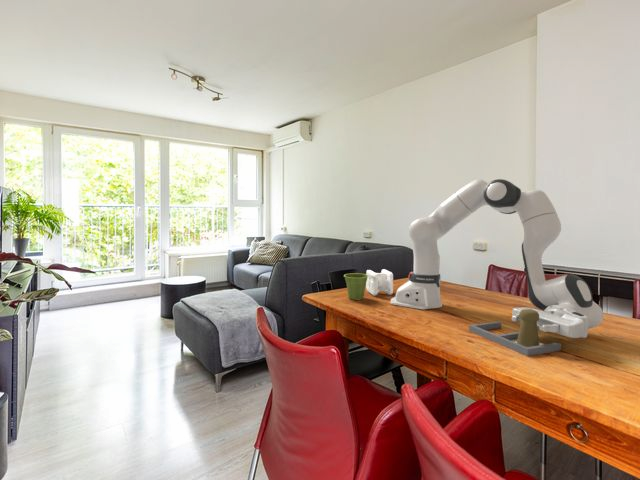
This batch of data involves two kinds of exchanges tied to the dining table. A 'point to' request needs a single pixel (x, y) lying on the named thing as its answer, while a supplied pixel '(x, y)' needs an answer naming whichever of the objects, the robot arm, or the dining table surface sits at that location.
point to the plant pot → (356, 285)
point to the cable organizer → (379, 282)
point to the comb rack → (511, 339)
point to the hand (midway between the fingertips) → (527, 323)
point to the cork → (528, 328)
